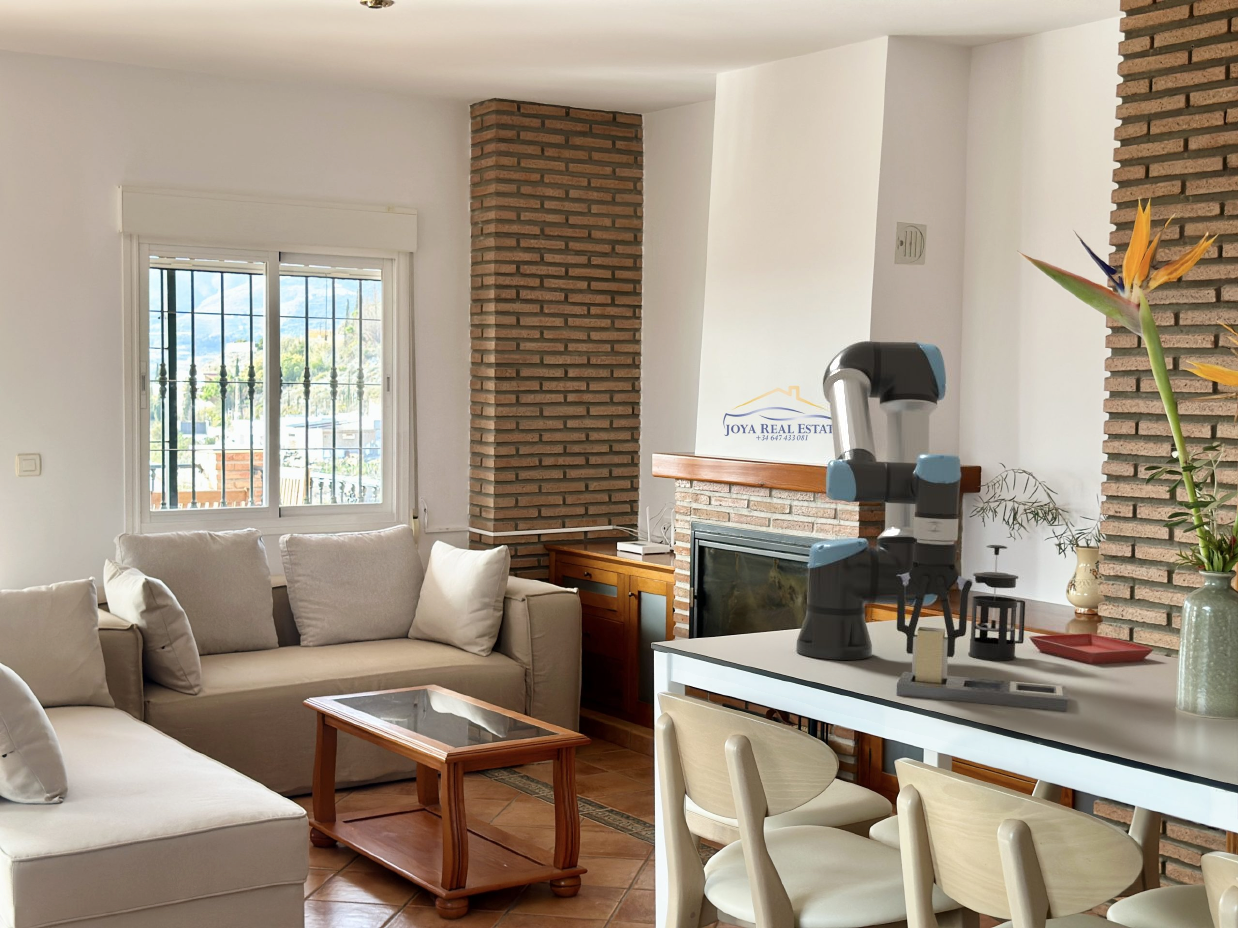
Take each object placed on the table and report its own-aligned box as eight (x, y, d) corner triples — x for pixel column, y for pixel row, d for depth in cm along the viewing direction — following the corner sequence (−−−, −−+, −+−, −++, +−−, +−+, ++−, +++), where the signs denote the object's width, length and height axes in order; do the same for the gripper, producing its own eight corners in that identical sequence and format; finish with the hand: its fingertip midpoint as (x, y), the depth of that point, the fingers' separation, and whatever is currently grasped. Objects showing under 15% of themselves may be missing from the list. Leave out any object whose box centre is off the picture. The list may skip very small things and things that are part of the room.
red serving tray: (1155, 663, 274) (1156, 647, 274) (1090, 667, 266) (1091, 651, 266) (1088, 647, 290) (1089, 632, 290) (1026, 651, 282) (1026, 636, 282)
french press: (977, 661, 267) (982, 547, 266) (957, 652, 276) (962, 542, 275) (1031, 661, 269) (1037, 548, 268) (1010, 652, 278) (1015, 543, 277)
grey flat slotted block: (896, 694, 230) (897, 681, 230) (902, 682, 241) (903, 669, 241) (1066, 711, 222) (1067, 697, 222) (1065, 697, 233) (1065, 684, 233)
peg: (914, 692, 233) (917, 630, 232) (916, 687, 237) (919, 626, 237) (940, 694, 231) (943, 632, 231) (942, 690, 236) (944, 628, 235)
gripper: (882, 540, 232) (876, 672, 233) (986, 546, 227) (979, 682, 228) (887, 537, 239) (881, 665, 240) (987, 543, 234) (981, 674, 235)
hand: (929, 673), depth 234 cm, fingers closed on peg, 4 cm apart
